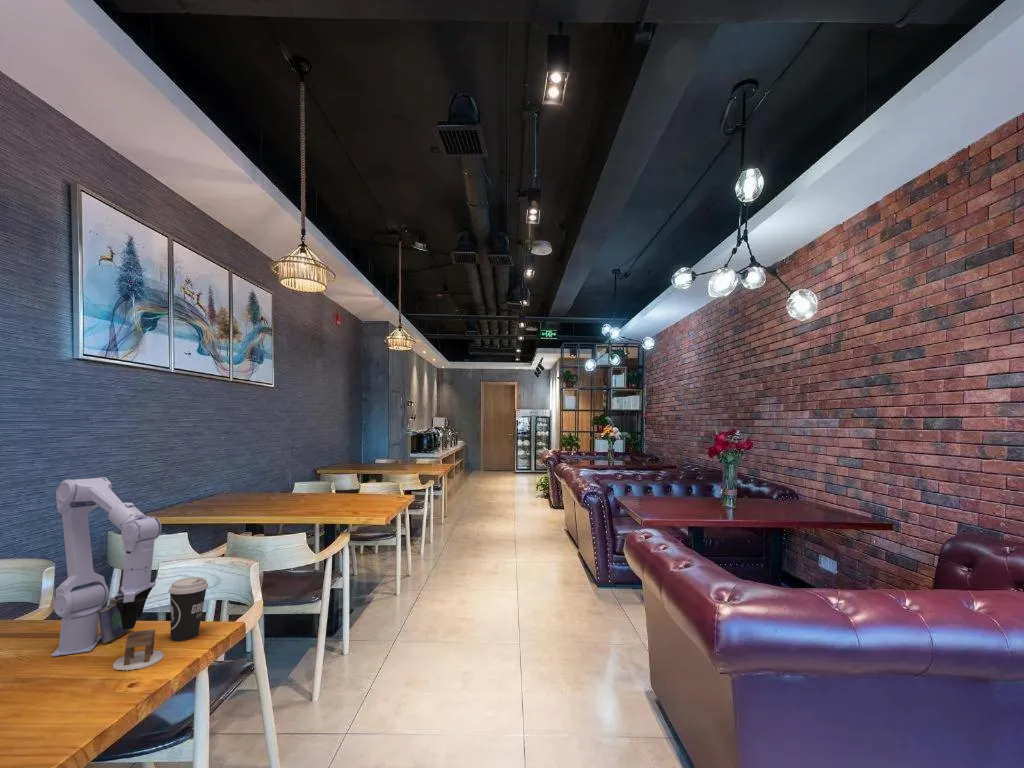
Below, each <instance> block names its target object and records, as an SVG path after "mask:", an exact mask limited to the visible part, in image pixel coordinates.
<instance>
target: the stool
mask: <svg viewBox="0 0 1024 768" xmlns="http://www.w3.org/2000/svg"><path fill="white" fill-rule="evenodd" d="M155 638H156V628H153V629H146V630H138V631H137V630H136V631H131V632H130V634H129V635H128V637H127V638H126V640H125V650H124V651H125V652H124V656H125V658H124V666H125V665H129V664H130V658H133V657H134V653H135V648H137V647H144V646H145V649H144V651H145V657H144V662H149V661H150V655H153V650H155V649H154V648H155Z"/></svg>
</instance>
